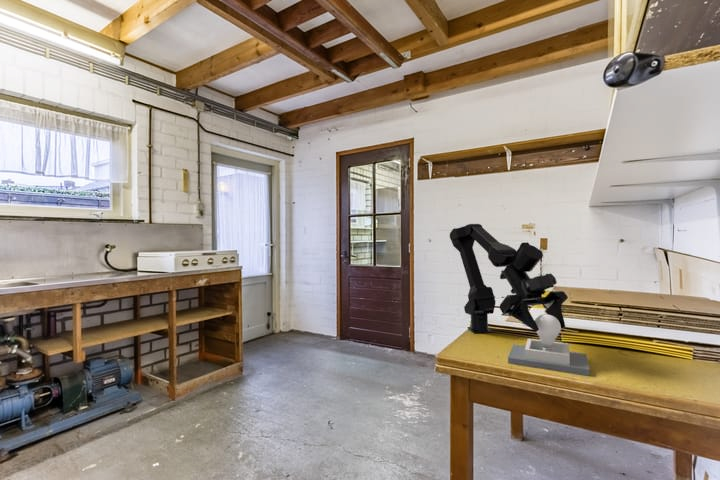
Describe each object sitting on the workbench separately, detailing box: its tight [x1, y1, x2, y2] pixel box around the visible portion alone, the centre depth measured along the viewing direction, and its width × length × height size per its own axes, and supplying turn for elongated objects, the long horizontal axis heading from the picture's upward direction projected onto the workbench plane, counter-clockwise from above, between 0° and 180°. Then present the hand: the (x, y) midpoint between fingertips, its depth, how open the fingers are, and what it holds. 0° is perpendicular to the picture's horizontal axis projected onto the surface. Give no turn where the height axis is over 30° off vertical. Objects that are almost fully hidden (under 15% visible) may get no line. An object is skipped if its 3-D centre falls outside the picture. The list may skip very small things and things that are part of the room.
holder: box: [507, 338, 591, 377], centre depth 90 cm, size 18×12×4 cm, turn 59°
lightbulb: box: [534, 313, 562, 352], centre depth 90 cm, size 6×6×11 cm
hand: (550, 329), depth 88 cm, fingers open, 8 cm apart
